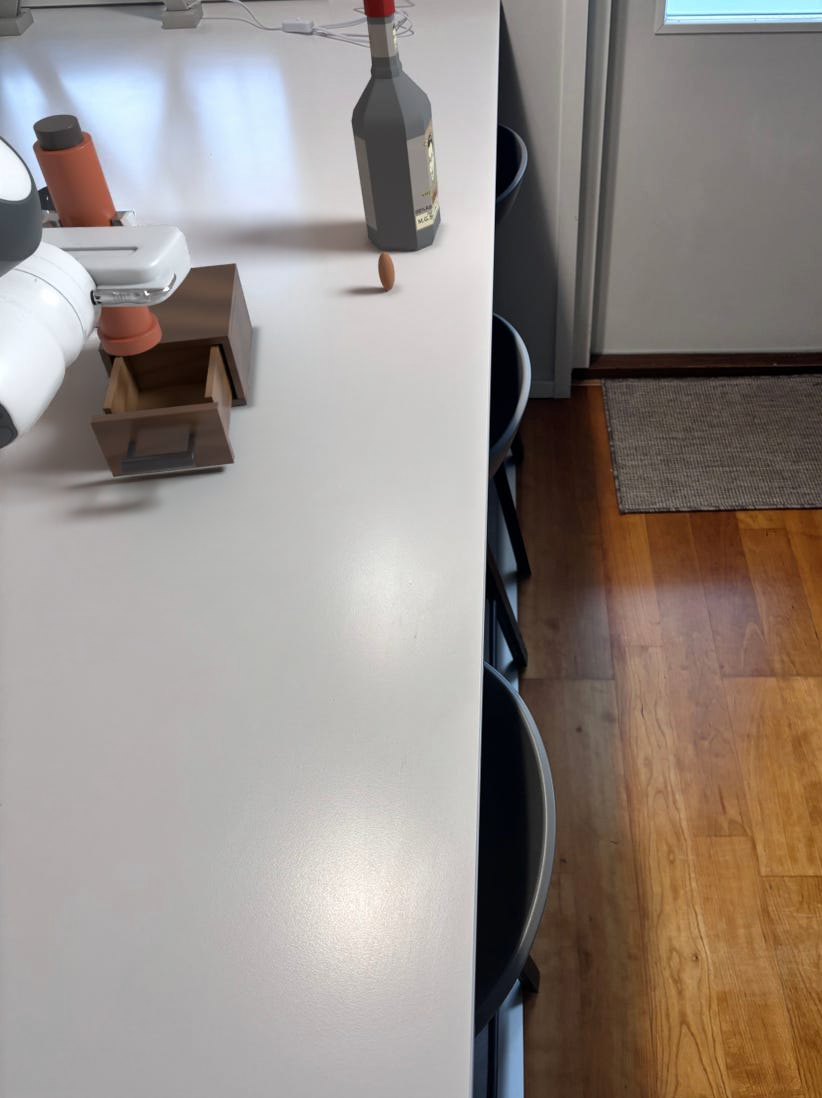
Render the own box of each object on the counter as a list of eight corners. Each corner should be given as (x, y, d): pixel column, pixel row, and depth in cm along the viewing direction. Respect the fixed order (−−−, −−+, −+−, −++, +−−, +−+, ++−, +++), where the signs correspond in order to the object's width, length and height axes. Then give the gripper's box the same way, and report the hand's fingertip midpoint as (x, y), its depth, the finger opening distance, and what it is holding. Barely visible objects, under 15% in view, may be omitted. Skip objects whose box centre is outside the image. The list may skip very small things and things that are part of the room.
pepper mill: (97, 359, 94) (12, 140, 79) (106, 326, 97) (26, 112, 82) (159, 352, 94) (85, 133, 79) (165, 320, 98) (96, 106, 83)
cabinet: (247, 404, 111) (228, 335, 104) (124, 418, 110) (97, 349, 103) (253, 330, 121) (235, 262, 114) (140, 342, 120) (117, 275, 114)
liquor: (366, 251, 132) (328, -5, 110) (379, 219, 138) (346, -30, 116) (432, 252, 131) (408, -6, 109) (443, 220, 137) (422, -32, 115)
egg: (394, 294, 125) (389, 256, 121) (379, 293, 125) (373, 255, 121) (398, 286, 126) (393, 248, 122) (383, 285, 126) (378, 248, 123)
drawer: (232, 491, 99) (214, 435, 94) (107, 505, 99) (82, 450, 94) (241, 383, 112) (226, 329, 107) (130, 396, 111) (110, 342, 106)
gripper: (153, 261, 75) (198, 181, 84) (-101, 266, 77) (-30, 187, 86) (176, 335, 80) (216, 251, 89) (-63, 338, 82) (0, 255, 91)
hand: (94, 220), depth 88 cm, fingers closed on pepper mill, 5 cm apart
